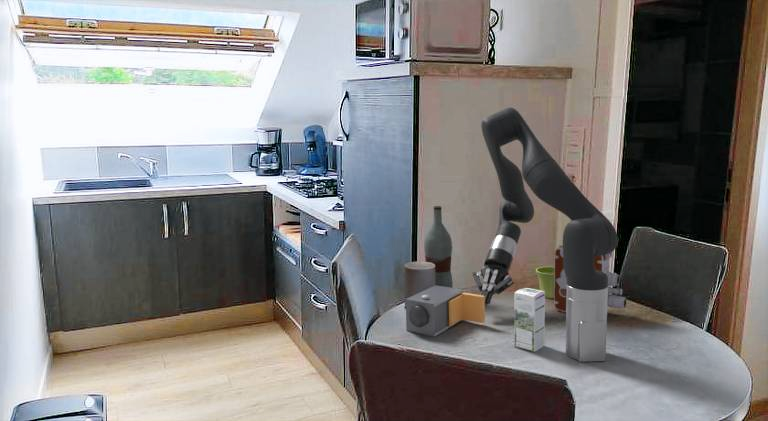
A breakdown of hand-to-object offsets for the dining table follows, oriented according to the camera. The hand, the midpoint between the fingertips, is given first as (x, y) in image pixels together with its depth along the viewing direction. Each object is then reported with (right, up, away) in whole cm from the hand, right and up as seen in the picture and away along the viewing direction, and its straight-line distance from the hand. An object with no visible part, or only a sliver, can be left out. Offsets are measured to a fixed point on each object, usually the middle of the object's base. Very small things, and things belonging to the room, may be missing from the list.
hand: (483, 304), depth 163 cm
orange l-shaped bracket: (-5, -5, -5) cm, 8 cm away
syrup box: (+8, -8, -20) cm, 23 cm away
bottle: (-10, -2, +26) cm, 28 cm away
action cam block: (-14, -6, -2) cm, 15 cm away
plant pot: (+26, -1, +22) cm, 34 cm away
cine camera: (+32, -4, +4) cm, 32 cm away
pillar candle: (-17, -4, +14) cm, 22 cm away
